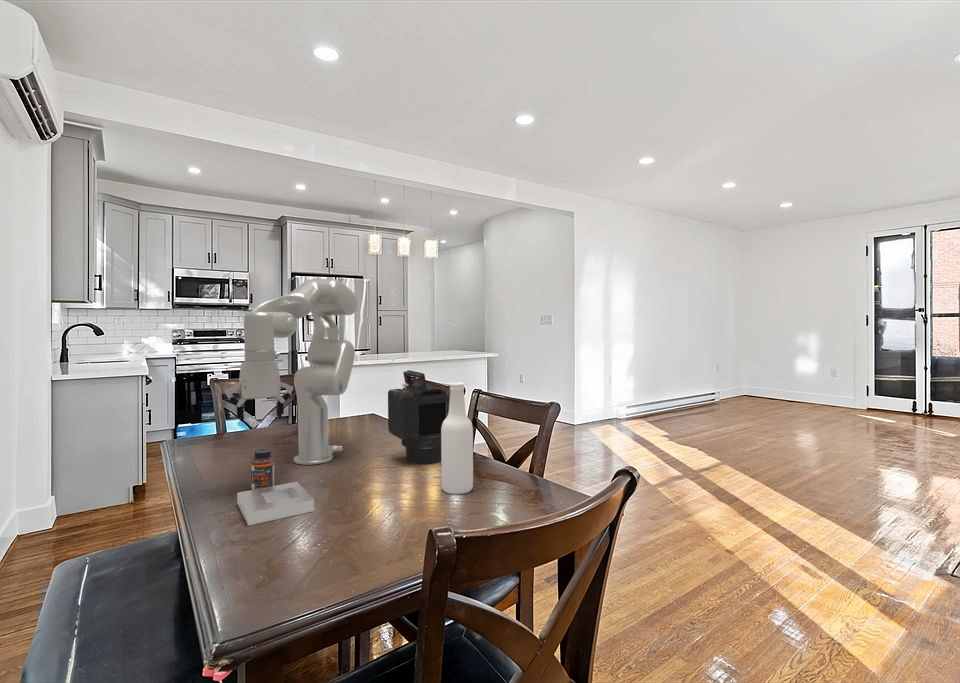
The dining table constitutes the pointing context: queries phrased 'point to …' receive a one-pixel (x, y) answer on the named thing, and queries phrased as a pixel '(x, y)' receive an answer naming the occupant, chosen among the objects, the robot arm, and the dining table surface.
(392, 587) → the dining table surface
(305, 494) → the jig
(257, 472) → the supplement bottle
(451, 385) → the alcohol
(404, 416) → the lantern
